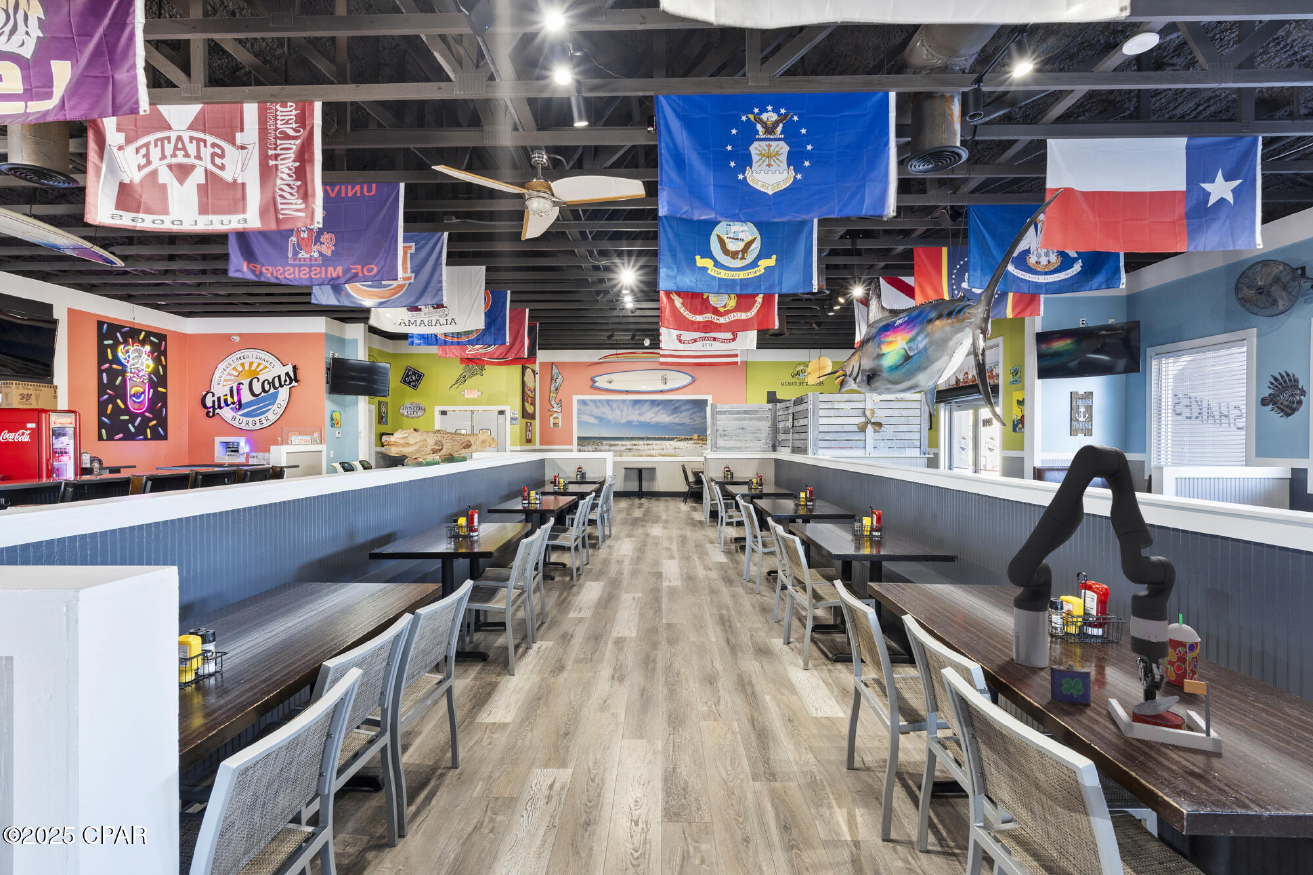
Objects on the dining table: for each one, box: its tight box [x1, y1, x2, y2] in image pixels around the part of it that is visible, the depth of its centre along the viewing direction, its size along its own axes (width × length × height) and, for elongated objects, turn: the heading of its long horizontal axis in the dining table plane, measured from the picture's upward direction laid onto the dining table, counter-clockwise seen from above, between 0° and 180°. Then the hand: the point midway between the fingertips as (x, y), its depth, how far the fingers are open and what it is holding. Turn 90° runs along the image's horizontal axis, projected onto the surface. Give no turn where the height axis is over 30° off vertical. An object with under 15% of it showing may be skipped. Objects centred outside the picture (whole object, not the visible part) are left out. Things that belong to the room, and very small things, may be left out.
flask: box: [1049, 661, 1092, 706], centre depth 156 cm, size 9×3×11 cm, turn 74°
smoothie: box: [1163, 613, 1202, 688], centre depth 170 cm, size 8×8×20 cm
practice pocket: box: [1107, 680, 1223, 754], centre depth 141 cm, size 17×16×15 cm
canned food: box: [1131, 695, 1186, 731], centre depth 143 cm, size 11×10×10 cm
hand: (1149, 703), depth 149 cm, fingers closed
